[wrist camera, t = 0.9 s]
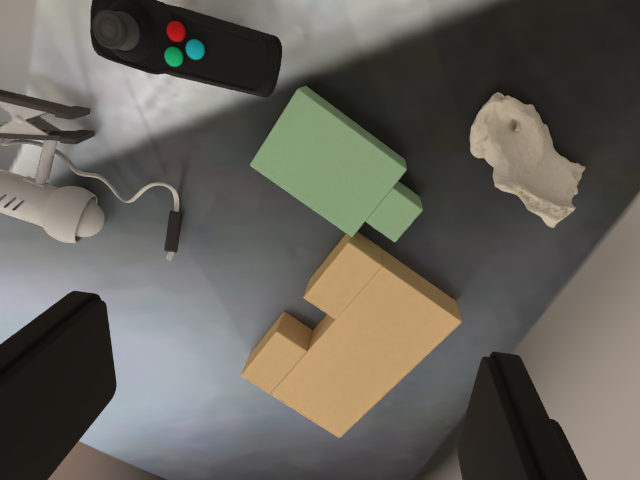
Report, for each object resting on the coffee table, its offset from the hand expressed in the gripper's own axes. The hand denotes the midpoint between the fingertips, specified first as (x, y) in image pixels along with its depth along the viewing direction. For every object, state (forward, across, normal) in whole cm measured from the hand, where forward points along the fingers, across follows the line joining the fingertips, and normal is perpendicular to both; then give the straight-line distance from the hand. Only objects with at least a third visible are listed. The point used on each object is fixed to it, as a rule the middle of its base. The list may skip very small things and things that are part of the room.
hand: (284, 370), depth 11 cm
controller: (+28, +11, -7) cm, 31 cm away
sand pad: (+28, -1, +17) cm, 33 cm away
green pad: (+28, 0, +1) cm, 28 cm away
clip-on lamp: (+28, +23, +5) cm, 36 cm away
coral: (+28, -13, -1) cm, 31 cm away
